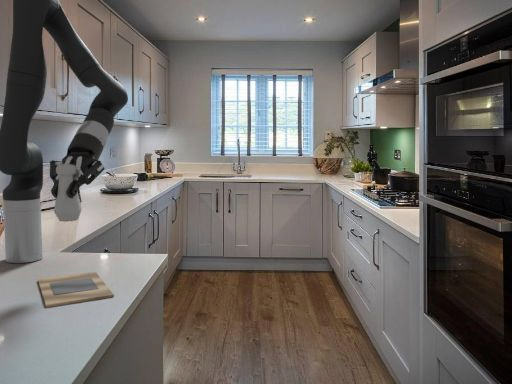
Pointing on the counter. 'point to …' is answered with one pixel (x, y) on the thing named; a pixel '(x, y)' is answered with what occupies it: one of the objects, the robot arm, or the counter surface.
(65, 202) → the salt shaker
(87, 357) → the counter surface
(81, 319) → the counter surface
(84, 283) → the wooden board
